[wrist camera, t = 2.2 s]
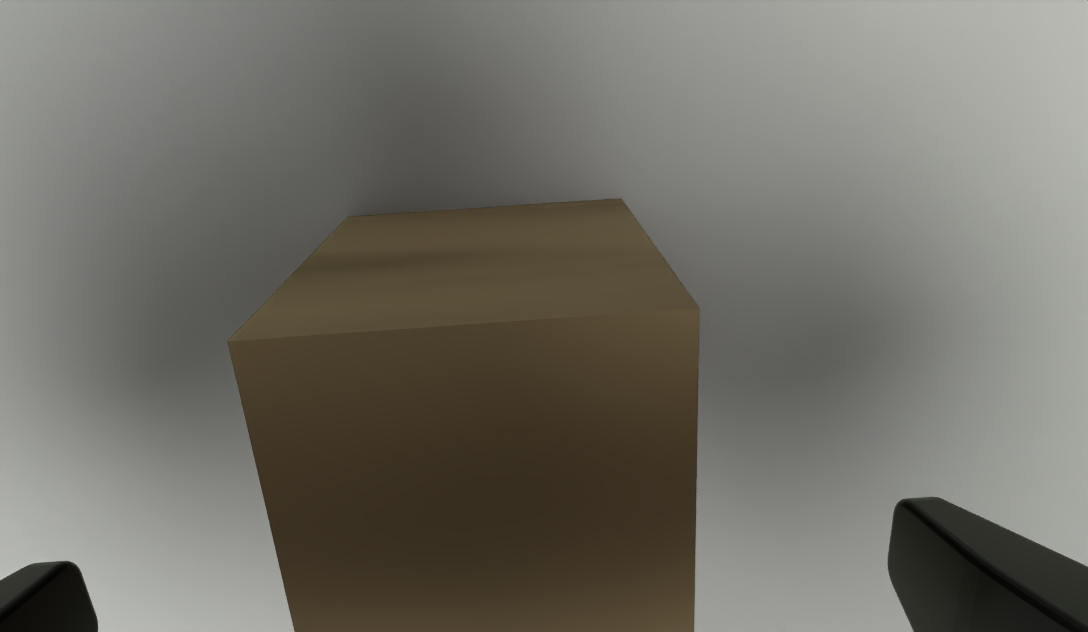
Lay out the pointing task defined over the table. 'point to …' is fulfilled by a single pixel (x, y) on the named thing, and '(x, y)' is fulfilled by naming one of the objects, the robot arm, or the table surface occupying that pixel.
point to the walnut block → (479, 424)
